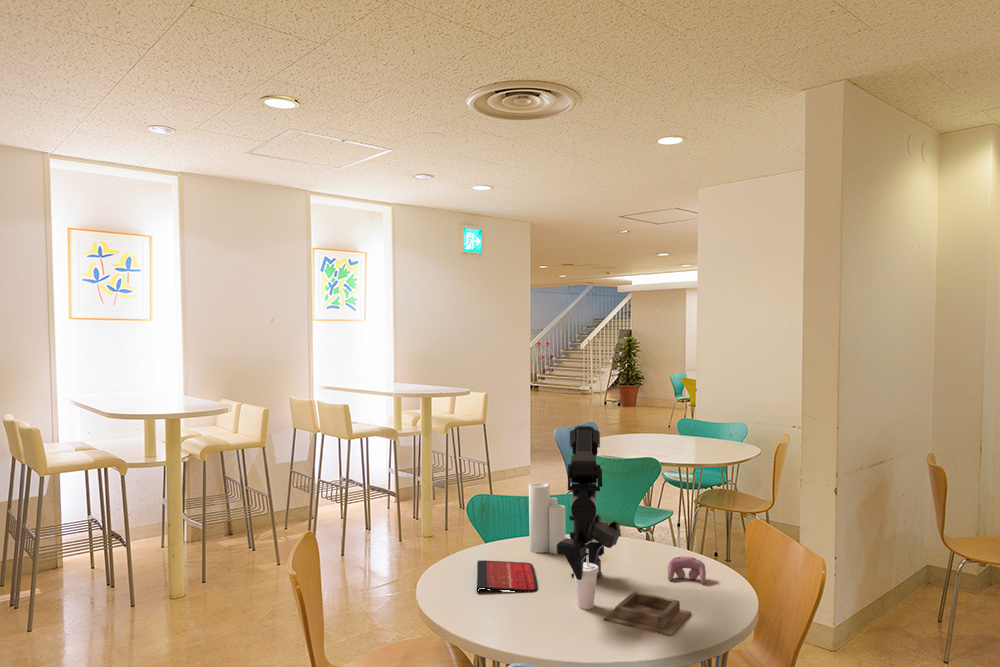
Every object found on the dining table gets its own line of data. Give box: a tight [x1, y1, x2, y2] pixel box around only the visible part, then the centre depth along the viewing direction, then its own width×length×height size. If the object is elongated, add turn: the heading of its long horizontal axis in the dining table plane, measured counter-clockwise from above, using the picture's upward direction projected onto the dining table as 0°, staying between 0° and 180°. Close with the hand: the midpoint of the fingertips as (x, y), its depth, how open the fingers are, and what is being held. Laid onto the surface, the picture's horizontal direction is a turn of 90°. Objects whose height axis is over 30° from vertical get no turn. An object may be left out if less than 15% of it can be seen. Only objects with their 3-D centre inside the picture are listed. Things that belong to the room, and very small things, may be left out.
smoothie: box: [571, 548, 599, 610], centre depth 162 cm, size 6×6×14 cm
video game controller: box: [667, 555, 707, 585], centre depth 179 cm, size 10×5×7 cm, turn 71°
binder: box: [475, 559, 538, 593], centre depth 181 cm, size 16×2×21 cm
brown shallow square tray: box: [603, 591, 692, 637], centre depth 155 cm, size 16×14×3 cm
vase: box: [528, 482, 567, 555], centre depth 205 cm, size 11×7×20 cm, turn 79°
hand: (585, 575), depth 162 cm, fingers closed on smoothie, 6 cm apart
